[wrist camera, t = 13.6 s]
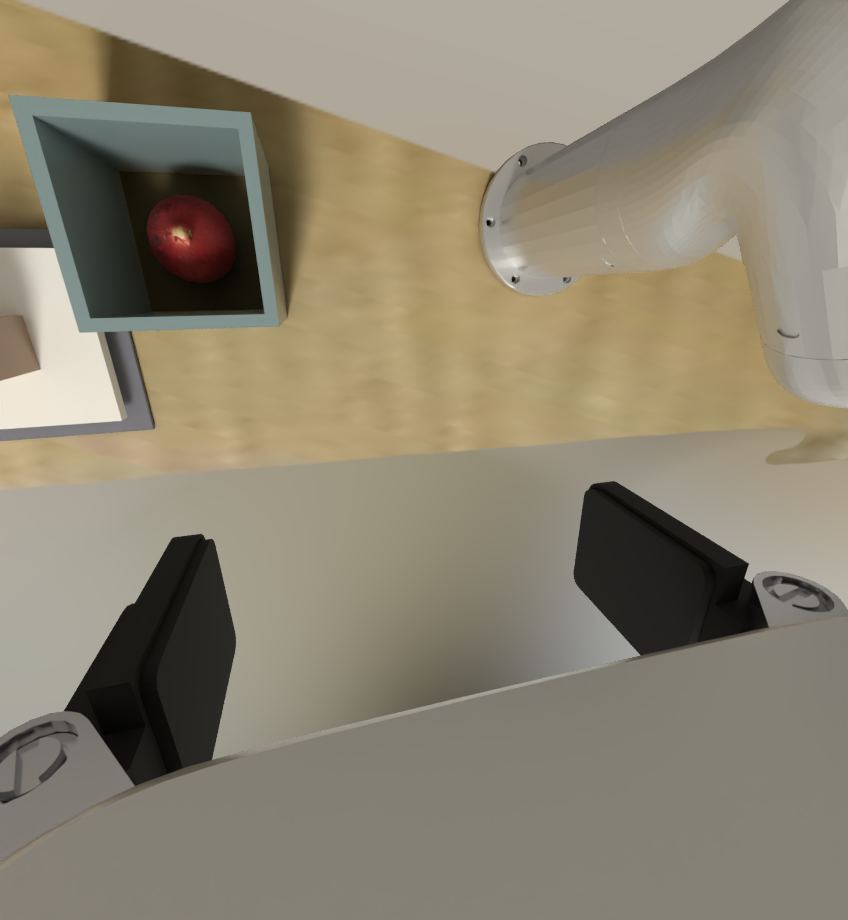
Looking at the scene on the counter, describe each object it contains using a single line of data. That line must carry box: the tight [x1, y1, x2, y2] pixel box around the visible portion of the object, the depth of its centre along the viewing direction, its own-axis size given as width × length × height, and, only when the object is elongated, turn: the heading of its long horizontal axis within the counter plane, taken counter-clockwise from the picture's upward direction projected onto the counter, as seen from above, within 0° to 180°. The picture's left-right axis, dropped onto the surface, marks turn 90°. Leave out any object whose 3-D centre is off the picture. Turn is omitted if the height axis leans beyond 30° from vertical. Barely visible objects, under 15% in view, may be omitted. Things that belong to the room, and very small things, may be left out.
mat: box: [0, 228, 155, 441], centre depth 34 cm, size 16×16×1 cm
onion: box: [146, 195, 237, 283], centre depth 31 cm, size 6×6×8 cm
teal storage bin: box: [8, 95, 287, 333], centre depth 30 cm, size 12×12×11 cm
